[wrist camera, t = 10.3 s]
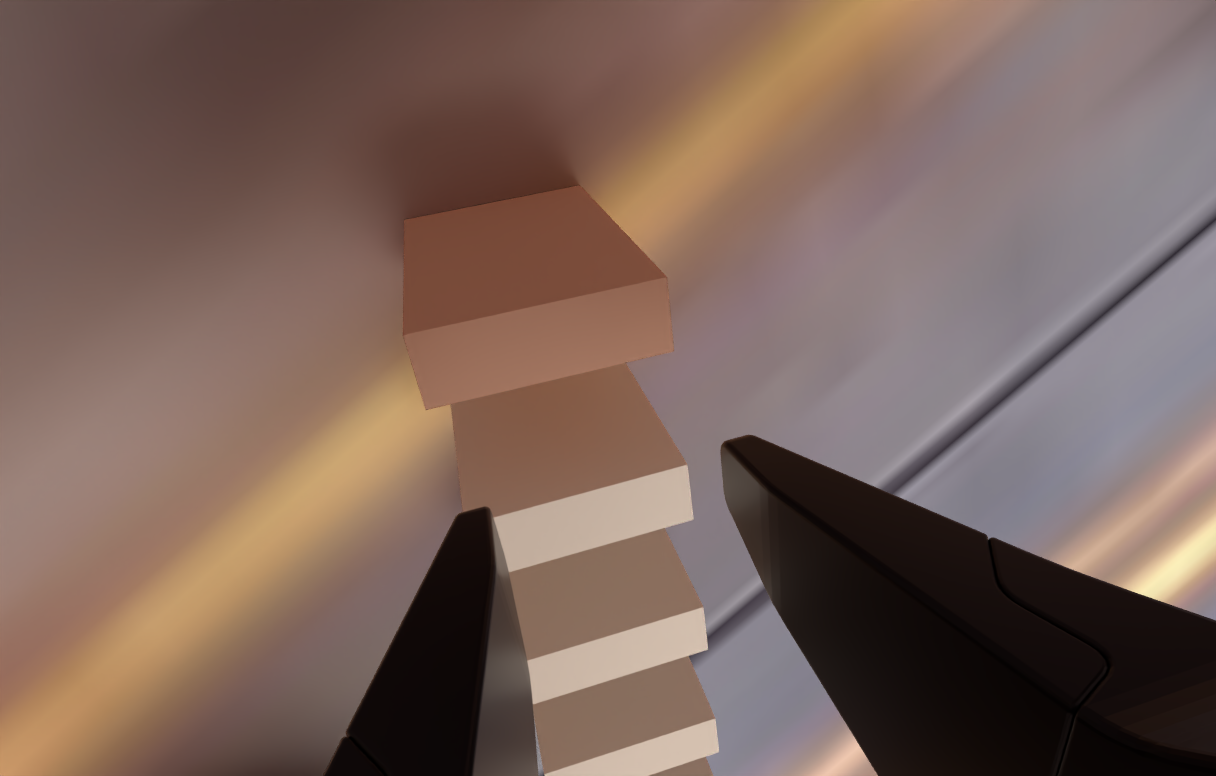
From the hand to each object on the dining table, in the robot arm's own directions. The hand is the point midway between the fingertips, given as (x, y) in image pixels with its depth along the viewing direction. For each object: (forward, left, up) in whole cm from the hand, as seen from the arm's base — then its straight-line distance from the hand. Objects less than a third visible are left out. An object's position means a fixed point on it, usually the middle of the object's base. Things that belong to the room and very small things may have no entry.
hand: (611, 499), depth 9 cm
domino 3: (0, -9, -13) cm, 16 cm away
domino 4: (0, -14, -13) cm, 19 cm away
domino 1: (0, 0, -13) cm, 13 cm away
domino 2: (0, -5, -13) cm, 14 cm away
